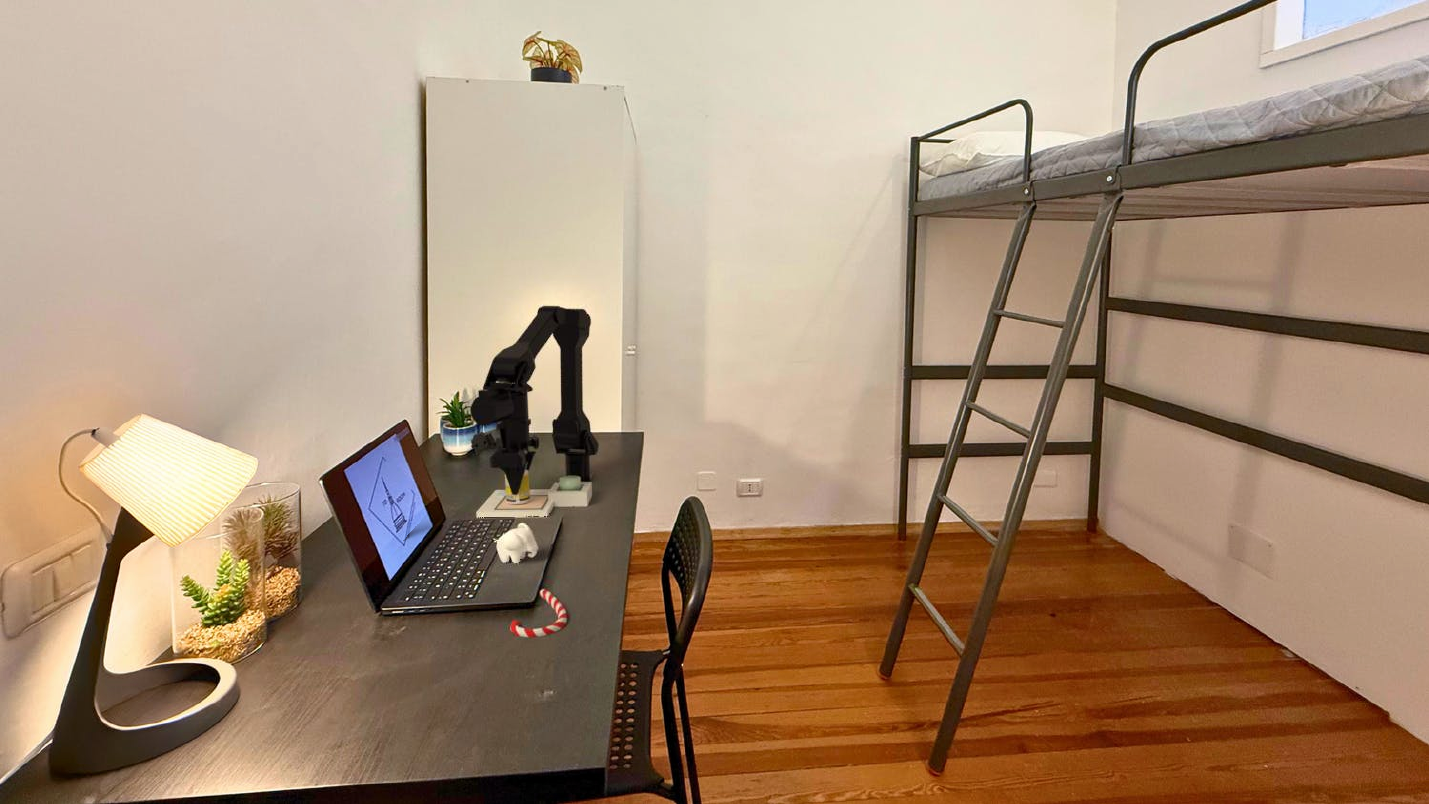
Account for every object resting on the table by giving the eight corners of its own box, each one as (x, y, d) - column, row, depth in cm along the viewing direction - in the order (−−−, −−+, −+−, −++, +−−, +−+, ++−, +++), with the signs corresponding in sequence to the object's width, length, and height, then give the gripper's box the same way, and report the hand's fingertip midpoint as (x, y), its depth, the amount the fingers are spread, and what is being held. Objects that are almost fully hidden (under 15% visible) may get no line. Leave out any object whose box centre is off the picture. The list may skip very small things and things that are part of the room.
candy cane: (565, 586, 126) (567, 628, 111) (565, 594, 126) (568, 637, 111) (513, 590, 124) (509, 633, 110) (514, 598, 124) (509, 642, 110)
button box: (555, 495, 177) (554, 482, 177) (592, 495, 177) (591, 482, 177) (548, 506, 169) (548, 492, 169) (587, 506, 169) (586, 492, 169)
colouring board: (496, 495, 178) (495, 489, 178) (560, 494, 178) (560, 488, 178) (476, 517, 162) (476, 511, 162) (547, 517, 162) (547, 510, 162)
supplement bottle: (530, 497, 171) (528, 458, 169) (529, 504, 166) (527, 464, 165) (507, 498, 170) (505, 459, 168) (505, 505, 165) (503, 465, 164)
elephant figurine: (530, 569, 135) (529, 535, 134) (485, 566, 136) (483, 532, 135) (546, 555, 141) (544, 522, 140) (502, 552, 143) (501, 519, 142)
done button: (561, 486, 175) (561, 475, 175) (582, 486, 175) (581, 475, 175) (558, 492, 171) (557, 481, 170) (579, 491, 171) (578, 480, 170)
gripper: (485, 408, 174) (489, 479, 176) (461, 426, 155) (465, 504, 158) (538, 408, 174) (541, 478, 177) (519, 425, 156) (523, 504, 158)
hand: (517, 490), depth 168 cm, fingers closed on supplement bottle, 5 cm apart
